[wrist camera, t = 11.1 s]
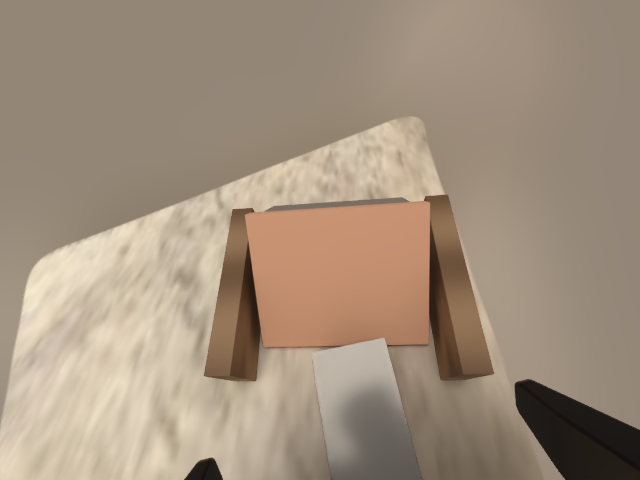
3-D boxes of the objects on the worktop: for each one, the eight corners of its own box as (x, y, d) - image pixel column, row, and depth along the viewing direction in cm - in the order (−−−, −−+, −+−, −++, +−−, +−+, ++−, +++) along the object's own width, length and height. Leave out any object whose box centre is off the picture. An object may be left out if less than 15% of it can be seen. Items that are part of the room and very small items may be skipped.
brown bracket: (464, 379, 20) (494, 373, 16) (234, 381, 22) (204, 376, 18) (432, 229, 26) (447, 194, 22) (252, 239, 28) (232, 209, 23)
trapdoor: (415, 316, 25) (428, 344, 21) (275, 320, 26) (263, 347, 22) (415, 196, 22) (430, 202, 18) (261, 207, 24) (244, 215, 20)
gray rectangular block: (380, 344, 21) (433, 550, 16) (320, 356, 21) (355, 563, 17) (384, 337, 17) (455, 605, 12) (311, 352, 17) (352, 622, 13)
